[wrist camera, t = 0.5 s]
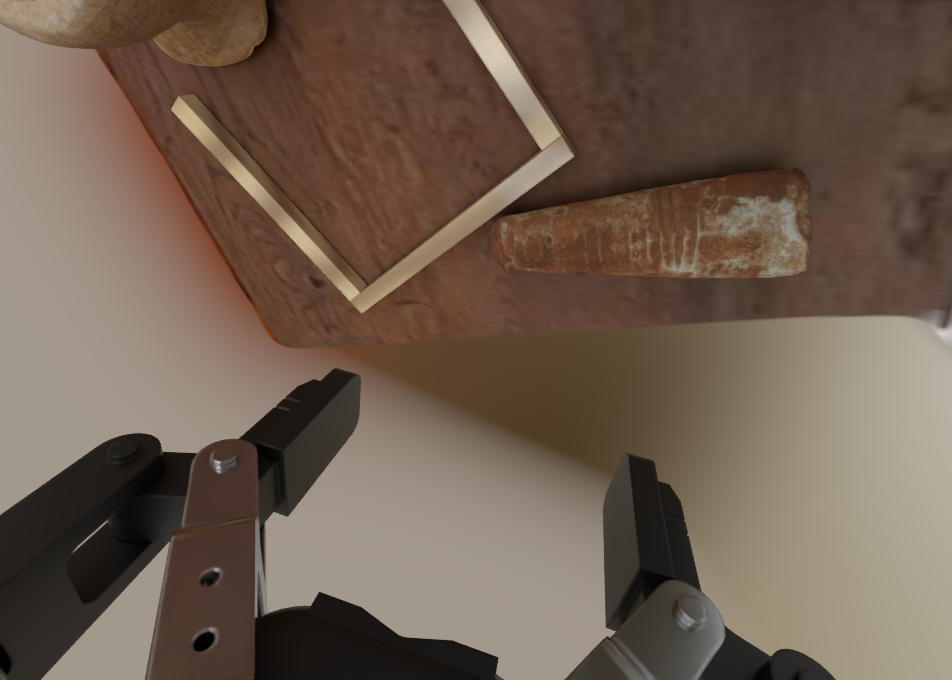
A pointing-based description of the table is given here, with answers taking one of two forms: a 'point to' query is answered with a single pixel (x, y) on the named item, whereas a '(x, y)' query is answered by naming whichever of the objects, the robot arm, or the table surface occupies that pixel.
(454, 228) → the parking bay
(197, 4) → the stone cup
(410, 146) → the table surface
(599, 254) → the rusty brown cylinder
